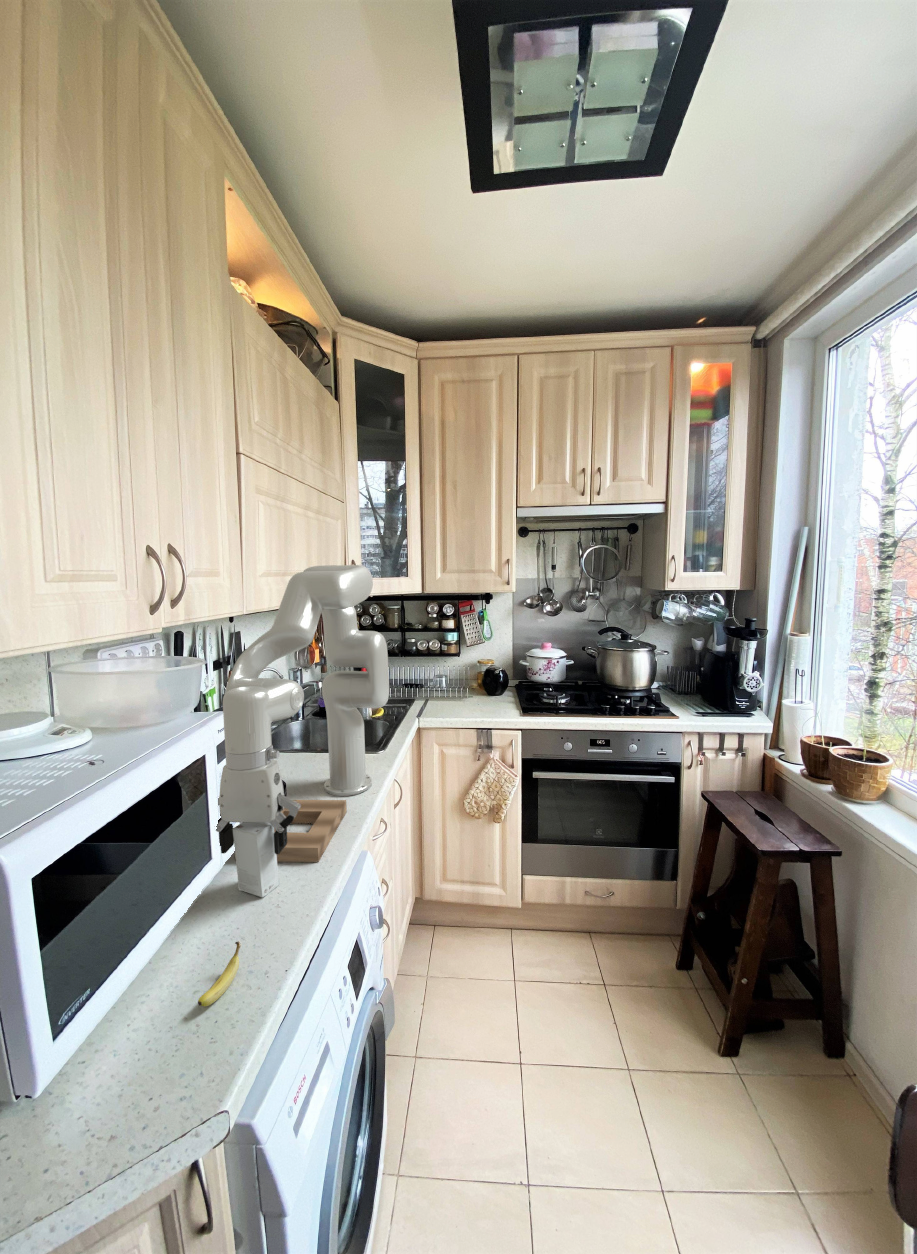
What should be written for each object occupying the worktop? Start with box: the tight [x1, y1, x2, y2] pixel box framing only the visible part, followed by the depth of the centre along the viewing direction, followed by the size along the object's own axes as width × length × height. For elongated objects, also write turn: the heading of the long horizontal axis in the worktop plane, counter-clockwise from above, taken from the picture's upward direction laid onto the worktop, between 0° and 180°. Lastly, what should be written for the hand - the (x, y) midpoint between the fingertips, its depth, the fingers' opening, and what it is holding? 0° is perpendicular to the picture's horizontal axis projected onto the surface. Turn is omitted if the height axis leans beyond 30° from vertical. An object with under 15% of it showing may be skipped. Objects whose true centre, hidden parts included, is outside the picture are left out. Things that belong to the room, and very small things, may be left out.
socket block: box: [234, 799, 348, 863], centre depth 103 cm, size 20×17×3 cm
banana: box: [197, 940, 242, 1007], centre depth 64 cm, size 8×2×4 cm, turn 170°
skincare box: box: [233, 822, 280, 898], centre depth 85 cm, size 6×4×12 cm
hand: (253, 849), depth 84 cm, fingers open, 9 cm apart
